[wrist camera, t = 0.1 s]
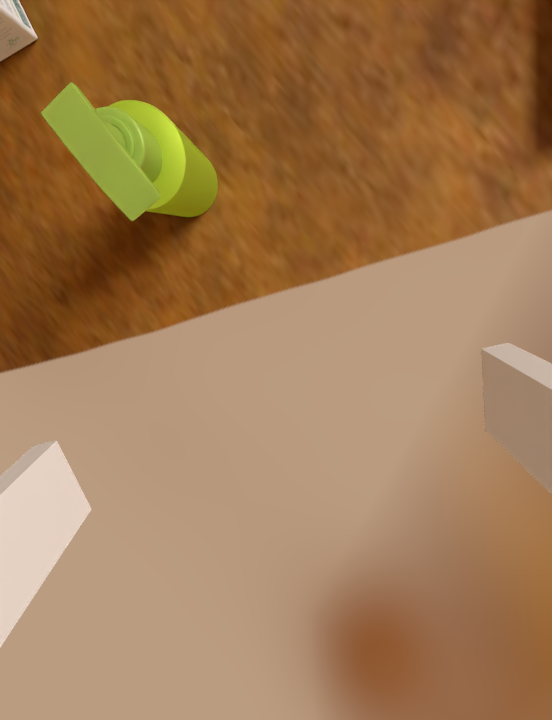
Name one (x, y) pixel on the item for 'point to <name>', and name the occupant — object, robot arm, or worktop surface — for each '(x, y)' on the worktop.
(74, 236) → the worktop surface
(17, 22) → the syrup box
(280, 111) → the worktop surface
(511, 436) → the robot arm
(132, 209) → the soap dispenser
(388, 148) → the worktop surface
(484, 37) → the worktop surface
